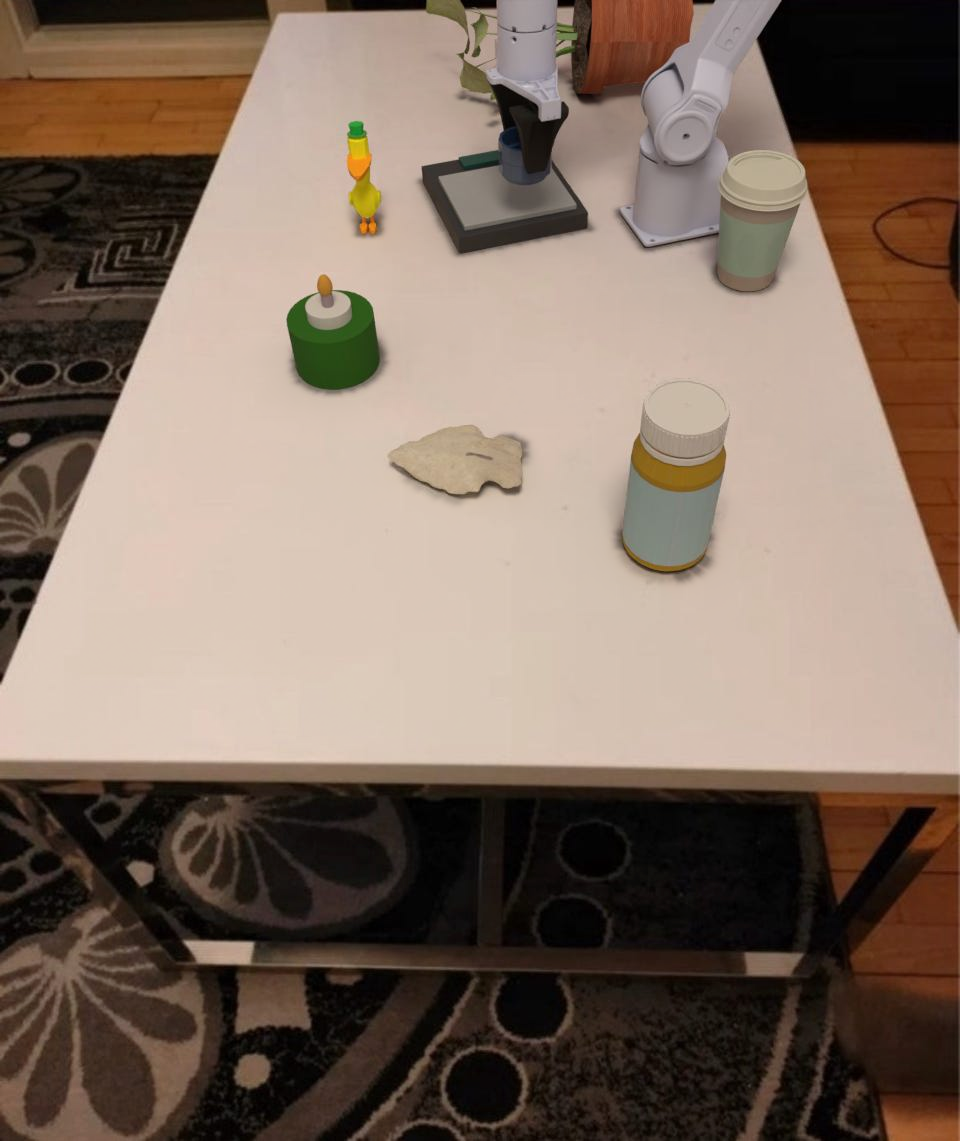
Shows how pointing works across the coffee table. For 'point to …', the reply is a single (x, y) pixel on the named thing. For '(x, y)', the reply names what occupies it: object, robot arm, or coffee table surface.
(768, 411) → the coffee table surface
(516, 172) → the blue cup
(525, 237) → the scale
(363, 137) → the toy figure
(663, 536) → the bottle
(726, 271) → the coffee cup
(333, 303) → the candle
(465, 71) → the potted plant
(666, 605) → the coffee table surface
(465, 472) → the decorative stone
